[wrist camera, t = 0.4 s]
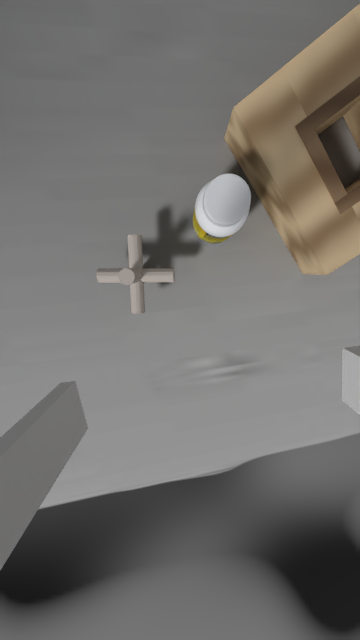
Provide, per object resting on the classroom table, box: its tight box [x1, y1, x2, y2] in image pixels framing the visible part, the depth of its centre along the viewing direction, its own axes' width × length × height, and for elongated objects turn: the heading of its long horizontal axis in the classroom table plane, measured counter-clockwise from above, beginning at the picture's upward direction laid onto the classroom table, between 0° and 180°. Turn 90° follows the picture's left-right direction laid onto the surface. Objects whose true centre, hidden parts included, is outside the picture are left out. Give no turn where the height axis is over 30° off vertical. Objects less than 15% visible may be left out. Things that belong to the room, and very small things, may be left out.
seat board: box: [224, 4, 360, 275], centre depth 28 cm, size 22×20×6 cm
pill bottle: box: [193, 173, 251, 244], centre depth 27 cm, size 6×6×11 cm
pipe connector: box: [97, 235, 174, 314], centre depth 30 cm, size 10×10×10 cm
